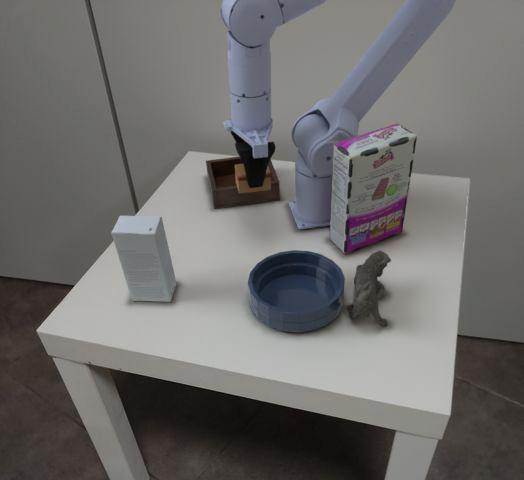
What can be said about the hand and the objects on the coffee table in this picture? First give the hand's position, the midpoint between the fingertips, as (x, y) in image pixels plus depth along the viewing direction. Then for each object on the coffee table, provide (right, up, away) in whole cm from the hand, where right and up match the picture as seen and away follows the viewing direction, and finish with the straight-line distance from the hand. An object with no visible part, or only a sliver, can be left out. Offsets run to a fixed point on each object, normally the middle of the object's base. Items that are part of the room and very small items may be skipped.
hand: (253, 179), depth 84 cm
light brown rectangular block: (0, -1, +1) cm, 1 cm away
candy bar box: (+18, -9, +3) cm, 20 cm away
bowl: (+6, -20, -7) cm, 22 cm away
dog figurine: (+16, -20, -8) cm, 27 cm away
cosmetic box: (-15, -18, -4) cm, 24 cm away
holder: (-2, +3, +14) cm, 14 cm away
